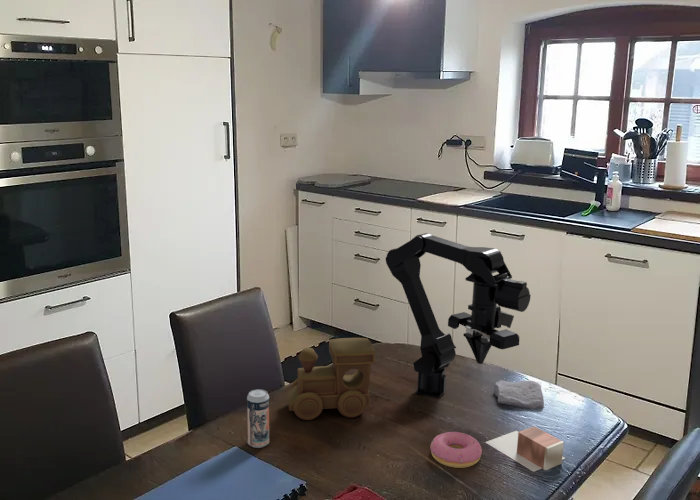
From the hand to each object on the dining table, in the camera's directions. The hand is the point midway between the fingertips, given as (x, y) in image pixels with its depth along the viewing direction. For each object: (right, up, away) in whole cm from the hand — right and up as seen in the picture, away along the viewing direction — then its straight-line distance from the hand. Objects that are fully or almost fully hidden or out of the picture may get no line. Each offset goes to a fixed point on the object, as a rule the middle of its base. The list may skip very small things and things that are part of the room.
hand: (480, 363), depth 167 cm
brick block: (+7, -14, -17) cm, 23 cm away
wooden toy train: (-36, -12, +1) cm, 38 cm away
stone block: (+11, -11, +8) cm, 18 cm away
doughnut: (-9, -17, -19) cm, 27 cm away
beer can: (-51, -15, -16) cm, 56 cm away
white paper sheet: (+7, -16, -16) cm, 24 cm away
